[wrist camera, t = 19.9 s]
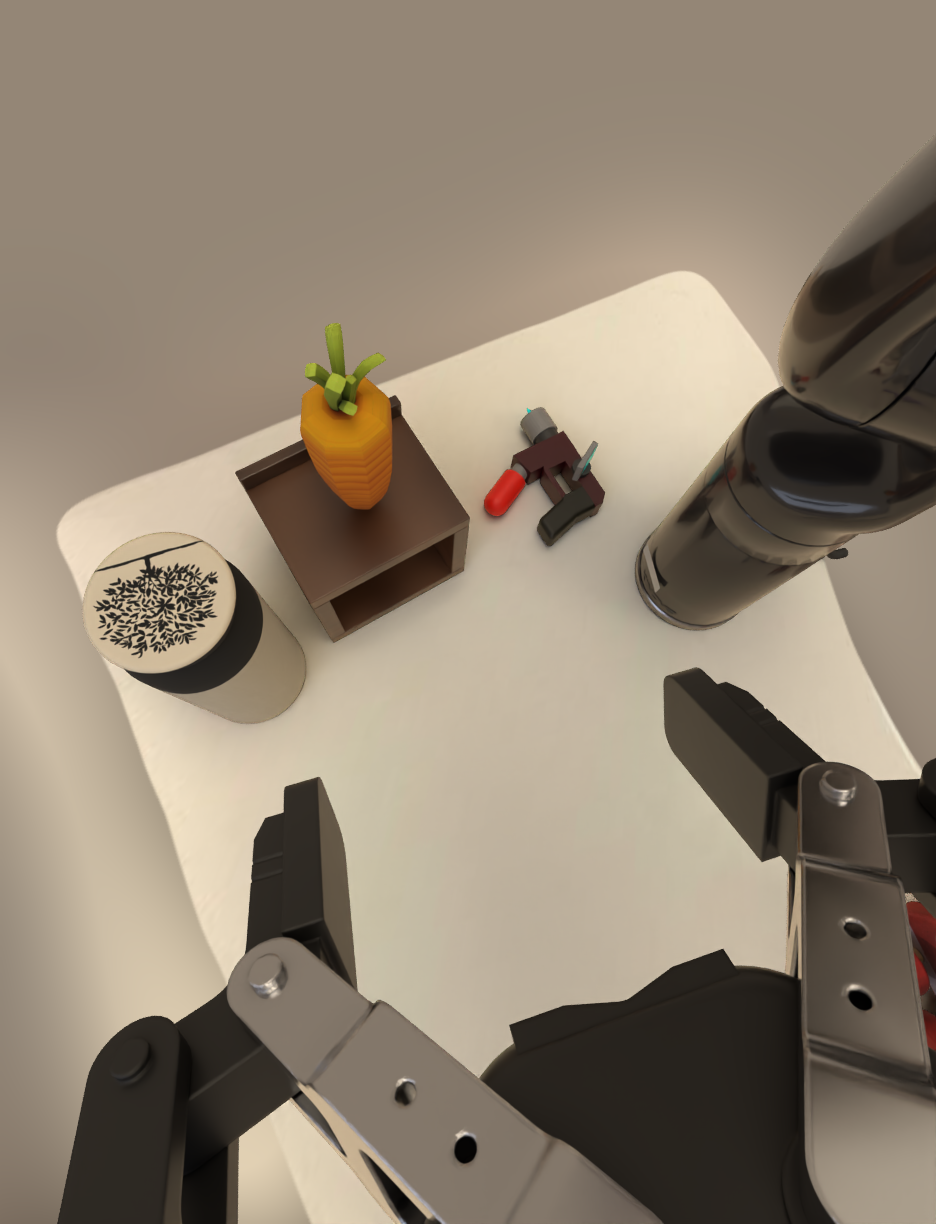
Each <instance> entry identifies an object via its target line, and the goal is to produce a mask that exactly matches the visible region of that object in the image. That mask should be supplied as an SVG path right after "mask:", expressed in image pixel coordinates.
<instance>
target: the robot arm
mask: <svg viewBox="0 0 936 1224" xmlns="http://www.w3.org/2000/svg"><path fill="white" fill-rule="evenodd" d="M778 367H779V375H780V378H781V381H782V383H783V386H782V387H780V388H777V389H776V390H774V391H772V392H770V393H769V394H767V395H766V396H765V397H763V398H762V399H761V400H760V401H759V402H758V403H756V404H755V405H754V407H753V408H752V409H751V410H750V411H749V412H748V413H747V415H746V416H745V417H744V418H743V420H742V421H741V422H740V423H739V425H738V426H737V427H736V429H735V430H734V431H733V433H732V434H731V435H730V437H729V438H728V439H727V440H726V442H725V443H724V444H723V445H722V447H721V448H720V449H719V451H718V452H717V453H716V454H715V456H714V457H713V458H712V460H711V461H710V462H709V464H708V465H707V466H706V467H705V469H704V470H703V471H702V472H701V474H700V475H699V476H698V477H697V479H696V480H695V481H694V483H693V484H692V485H691V486H690V488H689V489H688V490H687V491H686V493H685V494H684V495H683V496H682V498H681V499H680V500H679V502H678V503H677V504H676V505H675V507H674V508H673V509H672V510H671V512H670V513H669V514H668V515H667V517H666V518H665V519H664V520H663V522H662V523H661V524H660V525H659V527H658V528H657V529H656V530H655V531H654V532H653V533H652V534H651V535H650V536H649V537H648V539H647V540H646V541H645V543H644V544H643V545H642V547H641V549H640V551H639V553H638V556H637V559H636V565H635V577H636V583H637V586H638V589H639V592H640V594H641V596H642V598H643V599H644V601H645V603H646V604H647V605H648V606H649V608H650V609H651V610H652V611H653V612H654V613H655V614H656V615H658V616H659V617H660V618H662V619H663V620H665V621H666V622H668V623H670V624H672V625H674V626H677V627H680V628H683V629H688V630H707V629H712V628H715V627H718V626H720V625H722V624H724V623H726V622H727V621H729V620H730V619H732V618H733V617H735V616H736V615H737V614H738V613H739V612H740V611H742V610H743V609H745V608H747V607H748V606H750V605H751V604H753V603H754V602H756V601H758V600H759V599H761V598H762V597H764V596H765V595H767V594H768V593H770V592H771V591H773V590H774V589H776V588H778V587H779V586H781V585H782V584H784V583H785V582H787V581H788V580H790V579H791V578H793V577H794V576H796V575H798V574H799V573H801V572H802V571H804V570H805V569H807V568H808V567H810V566H811V565H813V564H814V563H816V562H817V561H819V560H821V559H822V558H824V557H825V556H826V555H827V556H828V557H829V558H831V559H840V558H844V557H846V556H847V555H848V550H847V549H846V548H842V549H838V550H835V549H837V548H838V547H840V546H841V545H843V544H844V543H846V542H848V541H849V540H851V539H852V538H854V537H855V536H857V535H858V534H864V533H873V532H878V531H883V530H886V529H889V528H892V527H894V526H897V525H899V524H901V523H903V522H905V521H907V520H909V519H911V518H912V517H914V516H916V515H918V514H920V513H921V512H923V511H925V510H927V509H929V508H931V507H933V506H934V505H936V134H935V135H934V136H933V137H932V138H931V139H930V140H929V141H928V142H927V143H926V144H925V145H924V146H923V147H922V148H921V149H920V150H918V151H917V152H916V154H914V155H913V156H912V157H911V158H910V159H909V160H908V161H907V162H906V163H905V164H904V165H903V166H902V167H901V168H900V169H899V170H898V171H897V172H896V173H895V174H894V175H893V176H892V177H891V178H890V179H889V180H888V181H887V182H886V183H885V184H884V185H883V186H882V187H881V188H880V189H879V190H878V191H877V192H876V193H875V194H874V195H873V196H872V197H871V199H870V200H869V201H868V202H867V203H866V204H865V205H864V206H863V207H862V209H861V210H860V211H859V212H858V213H857V214H856V215H855V216H854V217H853V219H852V220H851V221H850V222H849V223H848V224H847V226H846V227H845V228H844V229H843V230H842V231H841V233H840V234H839V236H838V237H837V238H836V239H835V240H834V242H833V243H832V244H831V245H830V247H829V248H828V249H827V251H826V252H825V254H824V255H823V256H822V258H821V259H820V260H819V262H818V263H817V265H816V266H815V268H814V269H813V271H812V272H811V274H810V275H809V277H808V278H807V280H806V282H805V284H804V285H803V287H802V289H801V291H800V292H799V294H798V296H797V298H796V300H795V302H794V304H793V306H792V308H791V310H790V312H789V315H788V317H787V320H786V322H785V325H784V328H783V331H782V335H781V340H780V344H779V353H778ZM664 726H665V733H666V737H667V740H668V743H669V745H670V747H671V749H672V751H673V753H674V754H675V755H676V757H677V758H678V759H679V760H680V761H681V763H682V764H683V765H684V766H685V768H686V769H687V770H688V771H689V773H690V774H691V775H692V776H693V778H694V779H695V780H696V781H697V782H698V784H699V785H700V786H701V787H702V789H703V790H704V791H705V792H706V794H707V795H708V796H709V797H710V799H711V800H712V801H713V802H714V804H715V805H716V806H717V807H718V808H719V810H720V811H721V812H722V813H723V815H724V816H725V817H726V818H727V820H728V821H729V822H730V823H731V825H732V826H733V827H734V828H735V830H736V831H737V832H738V833H739V834H740V836H741V837H742V838H743V839H744V841H745V842H746V843H747V844H748V846H749V847H750V848H751V849H752V851H753V852H754V853H755V854H756V856H757V857H758V858H759V859H760V860H761V862H764V861H766V860H769V859H772V858H775V857H778V856H782V858H783V859H784V860H785V861H786V862H787V864H788V874H787V935H786V966H785V973H782V972H778V971H775V970H771V969H767V968H761V967H755V966H734V965H733V963H732V962H731V960H730V959H729V957H728V955H727V954H726V952H725V951H724V949H721V950H718V951H716V952H713V953H710V954H707V955H704V956H701V957H699V958H696V959H693V960H690V961H687V962H685V963H682V964H679V965H676V966H673V967H672V968H670V969H669V970H667V971H666V972H665V973H663V974H662V975H661V976H659V977H658V978H657V979H655V980H654V981H653V982H651V983H650V984H648V985H647V986H646V987H644V988H643V989H642V990H640V991H639V992H638V993H636V994H635V995H634V996H632V997H631V998H629V999H627V1000H625V1001H620V1002H608V1003H594V1004H580V1005H566V1006H561V1007H559V1008H556V1009H553V1010H550V1011H547V1012H545V1013H542V1014H539V1015H536V1016H533V1017H531V1018H528V1019H525V1020H522V1021H519V1022H516V1023H514V1024H511V1025H509V1026H510V1030H511V1034H512V1038H513V1042H514V1044H512V1045H511V1046H510V1047H508V1048H507V1049H506V1050H504V1051H503V1052H502V1053H501V1054H500V1055H499V1056H498V1057H497V1058H496V1059H495V1060H494V1061H492V1063H491V1064H490V1065H489V1066H488V1068H487V1069H486V1070H485V1071H484V1072H483V1074H482V1075H481V1077H480V1078H478V1077H476V1076H475V1075H474V1074H473V1073H472V1072H470V1071H469V1070H468V1069H467V1068H465V1067H464V1066H463V1065H462V1064H461V1063H459V1062H458V1061H457V1060H456V1059H455V1058H453V1057H452V1056H451V1055H450V1054H449V1053H447V1052H446V1051H445V1050H444V1049H443V1048H441V1047H440V1046H439V1045H438V1044H436V1043H435V1042H434V1041H433V1040H432V1039H430V1038H429V1037H428V1036H427V1035H426V1034H424V1033H423V1032H422V1031H421V1030H420V1029H418V1028H417V1027H416V1026H415V1025H414V1024H412V1023H411V1022H410V1021H409V1020H407V1019H406V1018H405V1017H404V1016H403V1015H401V1014H400V1013H399V1012H398V1011H397V1010H395V1009H394V1008H393V1007H392V1006H390V1005H389V1004H387V1003H386V1002H384V1001H381V1000H377V1001H376V1002H375V1003H371V1002H370V1001H368V1000H367V999H366V998H364V997H363V996H362V995H361V994H360V993H359V992H358V990H357V979H356V967H355V956H354V945H353V933H352V922H351V911H350V900H349V888H348V877H347V866H346V855H345V848H344V843H343V838H342V834H341V831H340V827H339V824H338V822H337V819H336V817H335V814H334V811H333V809H332V806H331V803H330V801H329V798H328V795H327V793H326V790H325V787H324V785H323V782H322V780H321V778H320V777H317V778H313V779H310V780H306V781H303V782H300V783H296V784H293V785H289V786H286V787H285V789H284V813H281V814H277V815H274V816H271V817H267V818H265V820H264V822H263V824H262V826H261V827H260V829H259V831H258V833H257V835H256V837H255V839H254V848H253V865H252V875H251V879H252V883H251V889H250V902H249V916H248V929H247V943H246V951H245V955H244V956H243V957H242V958H241V959H240V961H239V962H238V963H237V965H236V966H235V968H234V970H233V971H232V973H231V976H230V978H229V981H228V985H227V986H226V987H225V988H224V990H223V991H221V992H220V993H219V994H218V995H217V996H216V997H214V998H213V999H212V1000H210V1001H209V1002H207V1003H206V1004H204V1005H203V1006H201V1007H200V1008H198V1009H197V1010H195V1011H194V1012H192V1013H191V1014H189V1015H188V1016H186V1017H184V1018H183V1019H181V1020H180V1021H178V1022H177V1023H175V1024H174V1023H173V1022H172V1021H171V1020H169V1019H168V1018H165V1017H162V1016H150V1017H146V1018H142V1019H139V1020H137V1021H135V1022H133V1023H131V1024H129V1025H128V1026H126V1027H124V1028H123V1029H122V1030H121V1031H119V1032H118V1033H117V1034H116V1035H115V1036H114V1037H113V1038H111V1039H110V1041H109V1042H108V1043H107V1044H106V1045H105V1046H104V1047H103V1049H102V1050H101V1052H100V1053H99V1054H98V1056H97V1058H96V1059H95V1061H94V1063H93V1065H92V1067H91V1070H90V1072H89V1075H88V1079H87V1083H86V1088H85V1092H84V1097H83V1102H82V1107H81V1112H80V1117H79V1121H78V1126H77V1131H76V1136H75V1141H74V1146H73V1150H72V1155H71V1160H70V1165H69V1170H68V1174H67V1179H66V1184H65V1189H64V1194H63V1199H62V1204H61V1208H60V1213H59V1218H58V1223H57V1224H238V1152H239V1137H240V1136H241V1135H242V1134H244V1133H245V1132H246V1131H248V1130H249V1129H250V1128H252V1127H253V1126H254V1125H256V1124H257V1123H258V1122H260V1121H261V1120H262V1119H264V1118H265V1117H266V1116H268V1115H269V1114H270V1113H272V1112H273V1111H274V1110H276V1109H277V1108H278V1107H279V1106H281V1105H282V1104H283V1103H285V1102H286V1101H287V1100H290V1101H291V1102H292V1103H293V1105H294V1106H295V1107H296V1108H297V1109H298V1110H299V1111H300V1112H301V1113H302V1115H303V1116H304V1117H305V1118H306V1119H307V1120H308V1121H309V1122H310V1123H311V1125H312V1126H313V1127H314V1128H315V1129H316V1130H317V1131H318V1132H319V1133H320V1135H321V1136H322V1137H323V1138H324V1139H325V1140H326V1141H327V1142H328V1144H329V1145H330V1146H331V1147H332V1148H333V1149H334V1150H335V1151H336V1152H337V1154H338V1155H339V1156H340V1157H341V1158H342V1159H343V1160H344V1161H345V1162H346V1164H347V1165H348V1166H349V1167H350V1168H351V1169H352V1171H353V1172H354V1173H355V1174H356V1176H357V1177H358V1178H359V1179H360V1181H361V1182H362V1183H363V1185H364V1186H365V1188H366V1189H367V1190H368V1192H369V1193H370V1194H371V1195H372V1197H373V1198H374V1199H375V1200H376V1202H377V1203H378V1204H379V1205H380V1207H381V1208H382V1209H383V1210H384V1211H385V1212H386V1214H387V1215H388V1216H389V1217H390V1218H391V1219H392V1220H393V1221H394V1223H395V1224H936V1051H935V1050H934V1049H932V1048H930V1047H928V1044H927V1037H926V1031H925V1024H924V1018H923V1011H922V1004H921V998H920V991H919V985H918V978H917V972H916V965H915V958H914V952H913V945H912V939H911V932H910V925H909V919H908V912H907V906H906V899H905V893H912V894H913V895H914V897H915V898H916V899H917V900H918V901H919V902H920V903H921V904H922V905H923V906H924V907H925V908H926V909H927V911H928V912H929V913H930V914H931V915H932V916H933V917H934V918H935V919H936V758H935V759H933V760H931V761H929V762H927V764H925V766H924V767H923V770H922V774H921V778H920V779H908V780H883V781H882V780H873V779H872V778H871V777H870V776H869V775H867V774H866V773H865V772H863V771H861V770H859V769H857V768H855V767H852V766H850V765H846V764H842V763H837V762H825V761H824V760H823V759H822V758H821V757H820V756H819V755H818V754H817V753H815V752H814V751H813V750H812V749H811V748H810V747H809V746H808V745H807V744H805V743H804V742H803V741H802V740H801V739H800V738H799V737H798V736H797V735H795V734H794V733H793V732H792V731H791V730H790V729H789V728H788V727H787V726H785V725H784V724H783V723H782V722H781V721H780V720H779V721H778V720H777V718H776V717H775V716H774V715H773V714H772V713H771V712H770V711H769V710H768V709H764V706H763V705H762V704H761V703H760V702H759V701H758V700H757V699H755V698H754V697H753V696H752V695H751V694H750V693H749V692H747V691H745V690H743V689H741V688H738V687H736V686H734V685H732V684H730V683H727V682H724V683H721V684H716V683H715V682H714V681H713V680H712V679H711V678H710V677H709V676H708V675H707V674H706V673H705V672H704V671H703V670H701V669H700V668H697V667H696V668H692V669H689V670H685V671H682V672H678V673H675V674H672V675H668V676H666V677H665V679H664Z"/></svg>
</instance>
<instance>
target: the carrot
mask: <svg viewBox="0 0 936 1224" xmlns="http://www.w3.org/2000/svg"><path fill="white" fill-rule="evenodd" d="M325 335H326V341H327V348H328V353H329V359H330V364H331V368H332V373H331V375H330V374H329V373H328V372H327V371H326V370H325V369H324V368H323V367H321V366H320V365H318V364H316V363H310V364H307V365H306V369H305V377H307V378H308V379H310V380H312V381H314V382H316V383H317V384H316V385H315V386H314V387H312V388H311V389H310V390H309V391H307V392H306V393H305V394H303V397H302V411H301V427H300V432H301V436H302V438H303V441H304V443H305V446H306V448H307V451H308V453H309V455H310V457H311V460H312V462H313V464H314V466H315V468H316V470H317V472H318V473H319V474H320V476H321V477H322V478H323V480H324V481H325V482H326V483H327V485H328V486H329V487H330V488H331V489H332V490H333V492H334V493H336V494H337V495H338V496H339V497H340V498H341V499H342V500H343V501H344V502H345V503H346V504H347V505H348V506H350V507H352V508H354V509H361V510H368V509H371V508H372V507H373V506H374V505H375V504H376V503H377V502H379V501H380V500H381V499H382V498H383V496H384V495H385V494H386V492H387V490H388V486H389V483H390V478H391V473H392V418H391V404H390V400H389V398H388V397H387V396H386V395H385V394H384V393H383V392H382V391H381V390H379V389H378V388H377V387H376V386H375V385H374V384H373V383H371V382H370V381H369V380H368V379H367V378H366V377H365V375H366V374H367V373H368V372H369V371H370V370H371V369H373V368H374V367H376V366H378V365H379V364H381V363H382V362H384V361H385V360H386V359H385V358H384V356H383V355H381V354H379V353H376V354H374V355H372V356H370V357H368V358H367V359H365V360H363V361H362V362H361V364H360V365H359V366H358V367H357V369H356V370H355V372H354V373H353V375H345V365H344V350H343V339H342V331H341V326H340V324H338V323H333V324H329V325H328V326H326V327H325Z"/></svg>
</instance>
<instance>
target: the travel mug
mask: <svg viewBox="0 0 936 1224" xmlns="http://www.w3.org/2000/svg"><path fill="white" fill-rule="evenodd" d="M83 622H84V626H85V630H86V632H87V635H88V637H89V639H90V641H91V643H92V644H93V646H94V647H95V648H96V650H97V651H98V652H99V653H100V654H101V655H102V656H103V657H104V658H106V659H107V660H108V661H110V662H111V663H113V664H115V665H117V666H119V667H121V668H123V669H125V670H126V672H128V673H129V674H130V675H131V676H132V677H134V678H136V679H137V680H139V681H141V682H143V683H145V684H147V685H149V686H152V687H154V688H156V689H159V690H161V691H163V692H166V693H168V694H170V695H172V696H175V697H177V698H179V699H182V700H184V701H186V702H189V703H191V704H193V705H195V706H198V707H200V708H202V709H205V710H207V711H209V712H212V713H214V714H216V715H218V716H221V717H223V718H225V719H228V720H230V721H233V722H237V723H245V724H252V723H259V722H264V721H267V720H269V719H272V718H274V717H276V716H277V715H279V714H281V713H282V712H283V711H285V710H286V709H287V708H288V707H289V706H290V705H291V704H292V703H293V702H294V700H295V699H296V698H297V696H298V694H299V693H300V691H301V688H302V686H303V683H304V679H305V673H306V663H305V657H304V653H303V651H302V648H301V646H300V644H299V643H298V641H297V640H296V639H295V637H294V636H293V635H292V634H291V633H290V631H289V630H288V629H287V628H286V626H285V625H284V624H283V623H282V622H281V620H280V619H279V618H278V617H277V615H276V614H275V613H274V612H273V611H272V609H271V608H270V607H269V606H268V604H267V603H266V602H265V601H264V599H263V598H262V597H261V596H260V595H259V593H258V592H257V591H256V590H255V588H254V587H253V586H252V585H251V584H250V582H249V581H248V580H247V579H246V577H245V576H244V575H243V574H242V573H241V571H240V570H239V569H237V568H236V567H235V566H234V565H233V564H231V563H230V562H228V561H227V560H225V559H224V558H223V557H222V555H221V554H220V553H219V552H218V551H217V550H216V549H214V548H213V547H212V546H211V545H209V544H208V543H206V542H204V541H203V540H201V539H198V538H196V537H194V536H190V535H187V534H182V533H175V532H161V533H153V534H148V535H144V536H141V537H138V538H136V539H133V540H131V541H129V542H127V543H125V544H123V545H122V546H120V547H119V548H117V549H116V550H114V551H113V552H112V553H111V554H110V555H108V556H107V557H106V558H105V559H104V560H103V562H102V563H101V564H100V565H99V566H98V568H97V569H96V570H95V572H94V574H93V575H92V577H91V579H90V581H89V583H88V585H87V588H86V591H85V595H84V600H83Z"/></svg>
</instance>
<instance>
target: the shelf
mask: <svg viewBox="0 0 936 1224" xmlns="http://www.w3.org/2000/svg"><path fill="white" fill-rule="evenodd" d="M389 400H390V404H391V418H392V473H391V478H390V483H389V486H388V490H387V492H386V494H385V495H384V496H383V498H382V499H381V500H380V501H379V502H377V503H376V504H375V505H374V506H373V507H372V508H371V509H368V510H361V509H354V508H352V507H350V506H348V505H347V504H346V503H345V502H344V501H343V500H342V499H341V498H340V497H339V496H338V495H337V494H336V493H334V492H333V490H332V489H331V488H330V487H329V486H328V485H327V483H326V482H325V481H324V480H323V478H322V477H321V476H320V474H319V473H318V472H317V470H316V468H315V466H314V464H313V462H312V460H311V457H310V455H309V453H308V451H307V448H306V446H305V443H304V441H303V440H301V441H299V442H297V443H295V444H293V445H290V446H288V447H286V448H284V449H282V450H280V451H278V452H276V453H274V454H272V455H270V456H268V457H266V458H263V459H261V460H259V461H257V462H255V463H253V464H251V465H249V466H247V467H245V468H243V469H241V470H239V471H237V472H235V473H236V475H237V477H238V479H239V481H240V482H241V484H242V486H243V487H244V489H245V491H246V492H247V494H248V496H249V498H250V500H251V501H252V503H253V505H254V507H255V508H256V510H257V512H258V514H259V515H260V517H261V519H262V521H263V522H264V524H265V526H266V528H267V530H268V531H269V533H270V535H271V537H272V538H273V540H274V542H275V544H276V545H277V547H278V549H279V551H280V552H281V554H282V556H283V558H284V560H285V561H286V563H287V565H288V567H289V568H290V570H291V572H292V574H293V575H294V577H295V579H296V581H297V582H298V584H299V586H300V588H301V590H302V591H303V593H304V595H305V597H306V598H307V600H308V602H309V604H310V605H311V607H312V608H313V610H314V612H315V613H316V615H317V617H318V618H319V620H320V622H321V623H322V625H323V626H324V628H325V630H326V631H327V633H328V635H329V636H330V638H331V640H332V641H333V643H334V642H336V641H338V640H340V639H342V638H343V637H345V636H347V635H349V634H351V633H352V632H354V631H356V630H358V629H360V628H361V627H363V626H365V625H367V624H369V623H370V622H372V621H374V620H376V619H378V618H379V617H381V616H383V615H385V614H387V613H388V612H390V611H392V610H394V609H396V608H397V607H399V606H401V605H403V604H405V603H406V602H408V601H410V600H412V599H414V598H415V597H417V596H419V595H421V594H423V593H424V592H426V591H428V590H430V589H432V588H433V587H435V586H437V585H439V584H441V583H442V582H444V581H446V580H448V579H450V578H452V577H453V576H455V575H457V574H459V573H461V572H462V571H464V564H465V555H466V546H467V538H468V529H469V520H470V517H469V516H468V514H467V513H466V511H465V510H464V508H463V507H462V505H461V504H460V502H459V501H458V499H457V498H456V496H455V495H454V493H453V492H452V490H451V489H450V487H449V486H448V484H447V483H446V481H445V480H444V478H443V477H442V475H441V474H440V472H439V470H438V469H437V467H436V466H435V464H434V463H433V461H432V460H431V458H430V457H429V455H428V454H427V452H426V451H425V449H424V448H423V446H422V445H421V443H420V442H419V440H418V439H417V437H416V436H415V434H414V433H413V431H412V430H411V428H410V427H409V425H408V424H407V422H406V421H405V419H404V418H403V416H402V412H401V403H400V401H399V400H398V398H397V397H396V396H395V395H394V396H392V397H390V398H389Z"/></svg>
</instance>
